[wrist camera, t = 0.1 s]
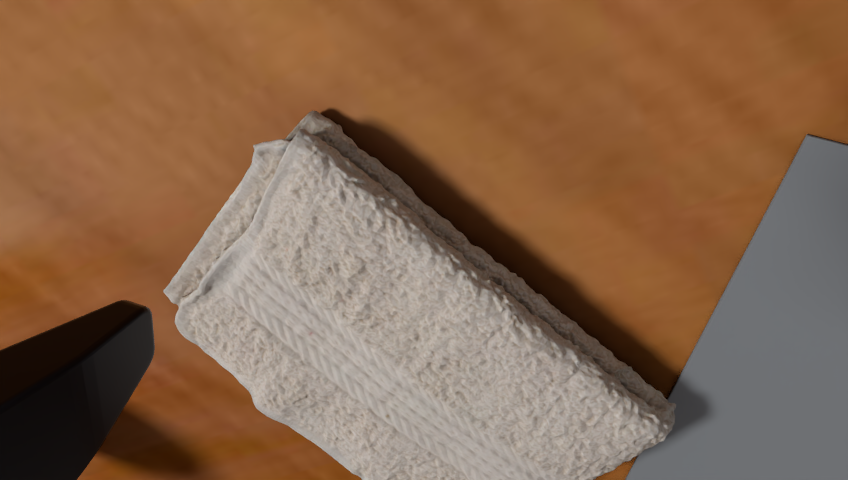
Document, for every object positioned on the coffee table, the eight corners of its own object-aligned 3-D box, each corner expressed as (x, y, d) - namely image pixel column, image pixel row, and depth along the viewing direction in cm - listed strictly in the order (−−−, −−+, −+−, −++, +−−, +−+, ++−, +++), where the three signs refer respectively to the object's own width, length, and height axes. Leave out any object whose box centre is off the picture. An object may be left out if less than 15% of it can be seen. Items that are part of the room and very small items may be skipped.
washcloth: (302, 84, 24) (261, 120, 22) (692, 393, 27) (694, 458, 24) (175, 280, 31) (132, 325, 29) (494, 513, 34) (480, 572, 31)
